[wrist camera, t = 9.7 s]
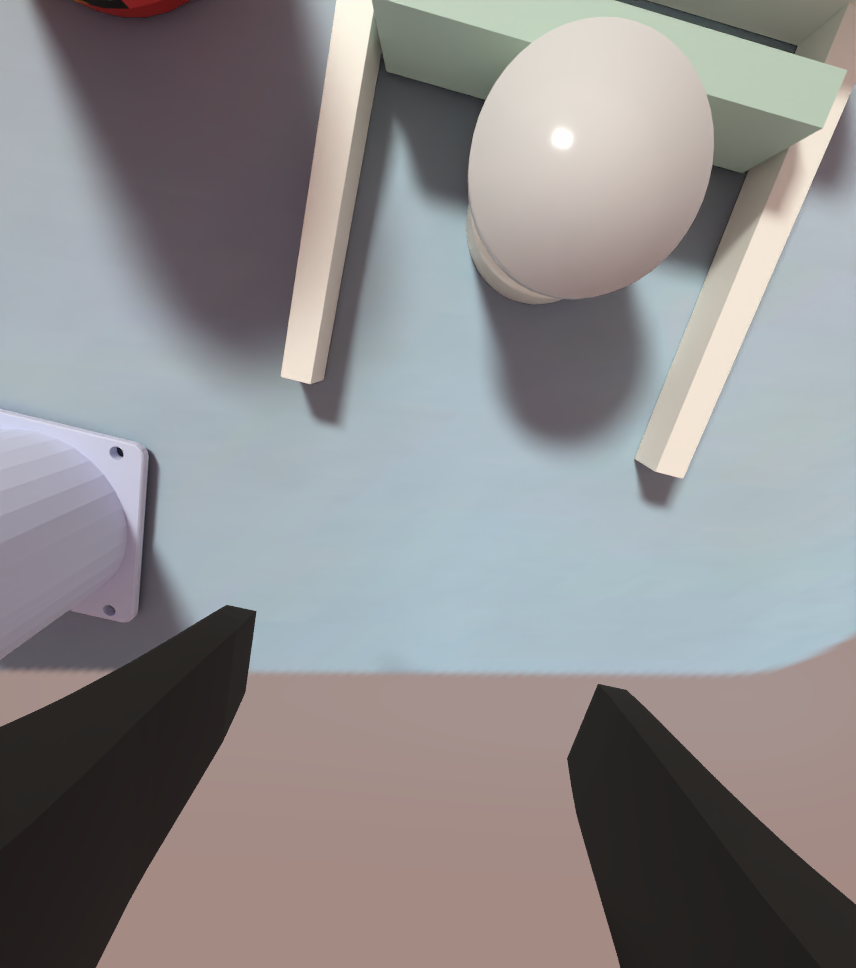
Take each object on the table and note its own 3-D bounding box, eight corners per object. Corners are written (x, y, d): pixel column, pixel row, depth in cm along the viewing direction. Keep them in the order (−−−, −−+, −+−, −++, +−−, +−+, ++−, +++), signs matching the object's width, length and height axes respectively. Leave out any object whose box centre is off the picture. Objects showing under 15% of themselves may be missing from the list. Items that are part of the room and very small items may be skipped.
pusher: (386, 71, 14) (370, -5, 11) (394, 22, 14) (381, -70, 11) (742, 173, 14) (822, 128, 11) (759, 128, 14) (847, 70, 11)
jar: (442, 287, 16) (442, 264, 11) (486, 106, 14) (509, -17, 9) (591, 327, 16) (656, 322, 11) (650, 153, 15) (756, 58, 10)
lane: (296, 373, 17) (254, 382, 13) (376, -130, 13) (349, -330, 9) (659, 465, 18) (720, 499, 14) (846, 14, 13) (1006, -116, 10)
